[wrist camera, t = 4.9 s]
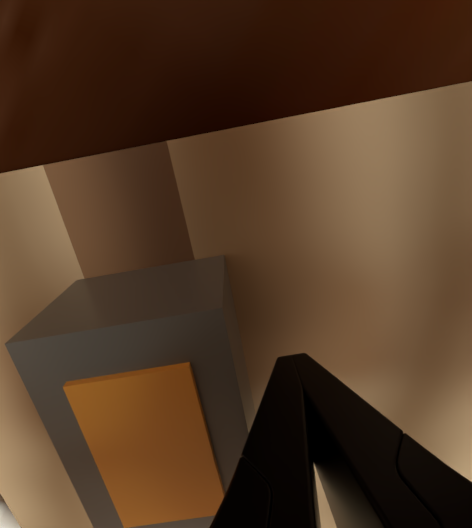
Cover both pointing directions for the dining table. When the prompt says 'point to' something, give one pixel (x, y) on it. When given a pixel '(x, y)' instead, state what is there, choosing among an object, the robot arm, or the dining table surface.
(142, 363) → the block
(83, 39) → the dining table surface
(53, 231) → the subfloor board
